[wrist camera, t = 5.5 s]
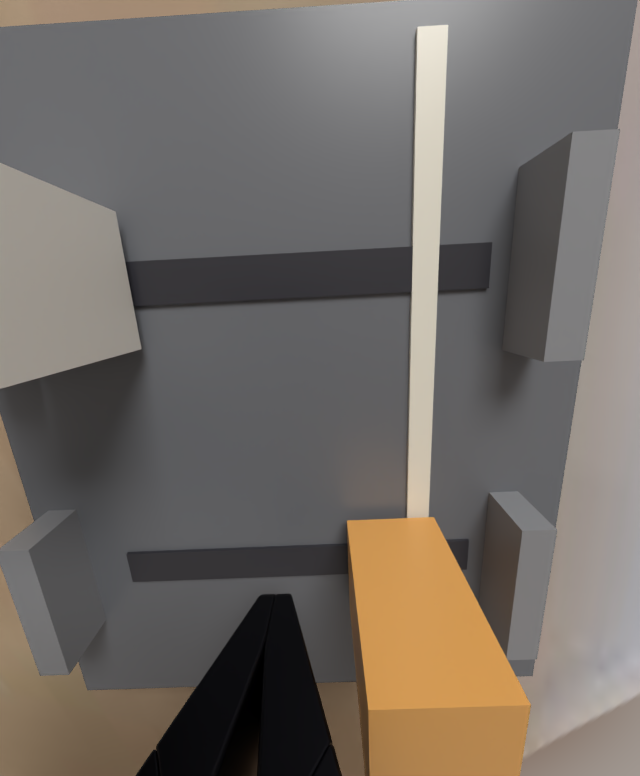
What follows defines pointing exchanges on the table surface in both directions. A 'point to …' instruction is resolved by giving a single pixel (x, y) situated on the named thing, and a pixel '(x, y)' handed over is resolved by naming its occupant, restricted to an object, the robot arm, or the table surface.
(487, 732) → the fader orange
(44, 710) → the table surface
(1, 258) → the block
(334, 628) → the panel
